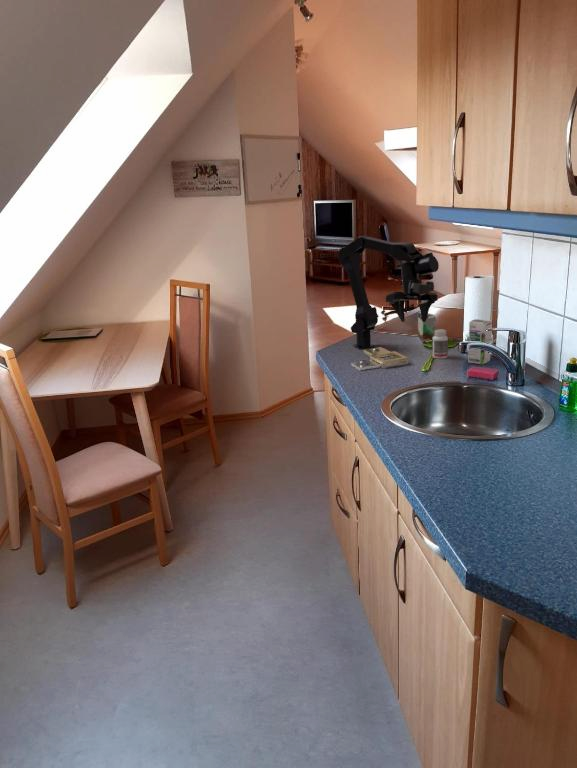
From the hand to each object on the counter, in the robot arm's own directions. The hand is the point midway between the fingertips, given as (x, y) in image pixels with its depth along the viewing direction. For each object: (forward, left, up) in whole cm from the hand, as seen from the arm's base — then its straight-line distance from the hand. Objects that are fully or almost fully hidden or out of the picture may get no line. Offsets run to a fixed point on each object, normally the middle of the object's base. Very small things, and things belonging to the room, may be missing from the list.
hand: (413, 321), depth 215 cm
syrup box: (+15, +17, -14) cm, 26 cm away
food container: (-20, +18, -14) cm, 31 cm away
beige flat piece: (-5, -14, -14) cm, 20 cm away
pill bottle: (+3, +9, -14) cm, 17 cm away
